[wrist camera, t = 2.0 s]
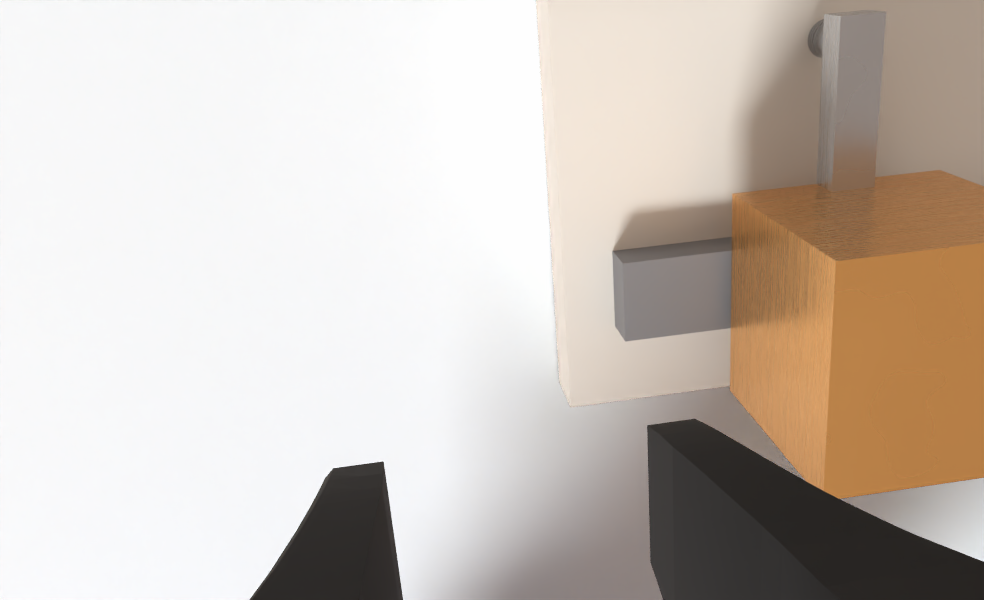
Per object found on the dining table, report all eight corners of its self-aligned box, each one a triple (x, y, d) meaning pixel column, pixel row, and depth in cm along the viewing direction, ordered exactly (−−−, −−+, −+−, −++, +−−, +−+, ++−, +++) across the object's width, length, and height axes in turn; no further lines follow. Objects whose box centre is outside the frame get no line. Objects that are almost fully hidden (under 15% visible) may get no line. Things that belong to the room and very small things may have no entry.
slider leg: (717, 375, 19) (822, 501, 15) (719, 20, 17) (848, 44, 12) (903, 350, 19) (1059, 466, 15) (932, -1, 17) (1130, 16, 13)
